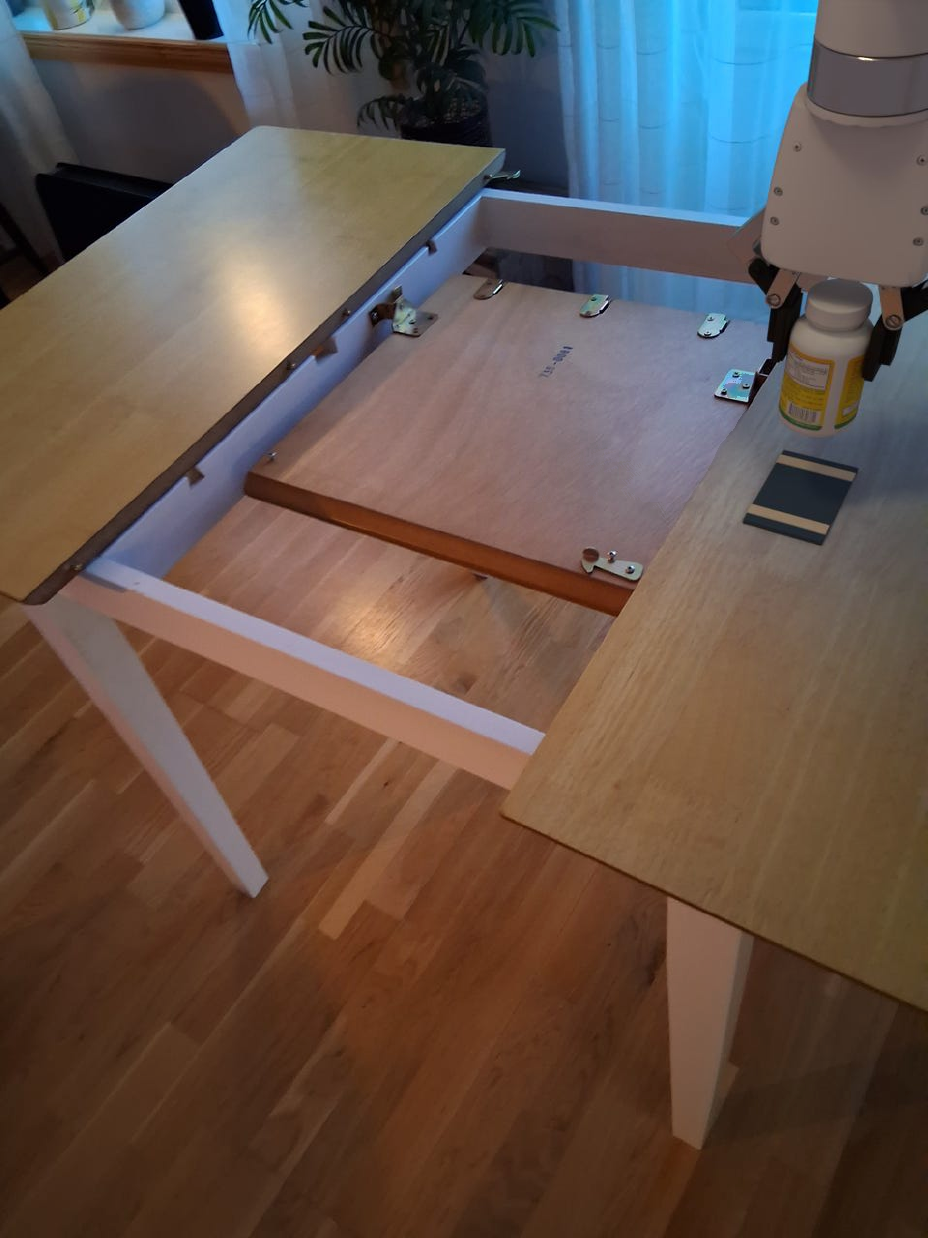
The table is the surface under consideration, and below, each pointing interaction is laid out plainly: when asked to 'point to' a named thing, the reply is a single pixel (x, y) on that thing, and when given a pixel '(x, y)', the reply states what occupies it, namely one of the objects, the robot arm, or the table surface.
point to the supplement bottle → (827, 359)
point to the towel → (801, 496)
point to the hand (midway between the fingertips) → (827, 358)
